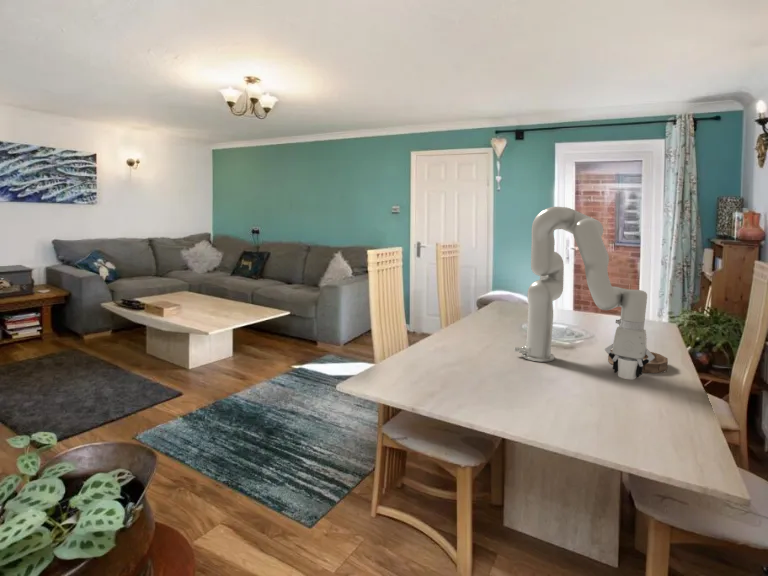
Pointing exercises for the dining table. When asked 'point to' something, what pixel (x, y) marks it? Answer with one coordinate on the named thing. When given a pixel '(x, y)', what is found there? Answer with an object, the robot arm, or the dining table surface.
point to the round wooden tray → (651, 363)
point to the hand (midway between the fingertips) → (627, 373)
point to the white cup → (627, 367)
